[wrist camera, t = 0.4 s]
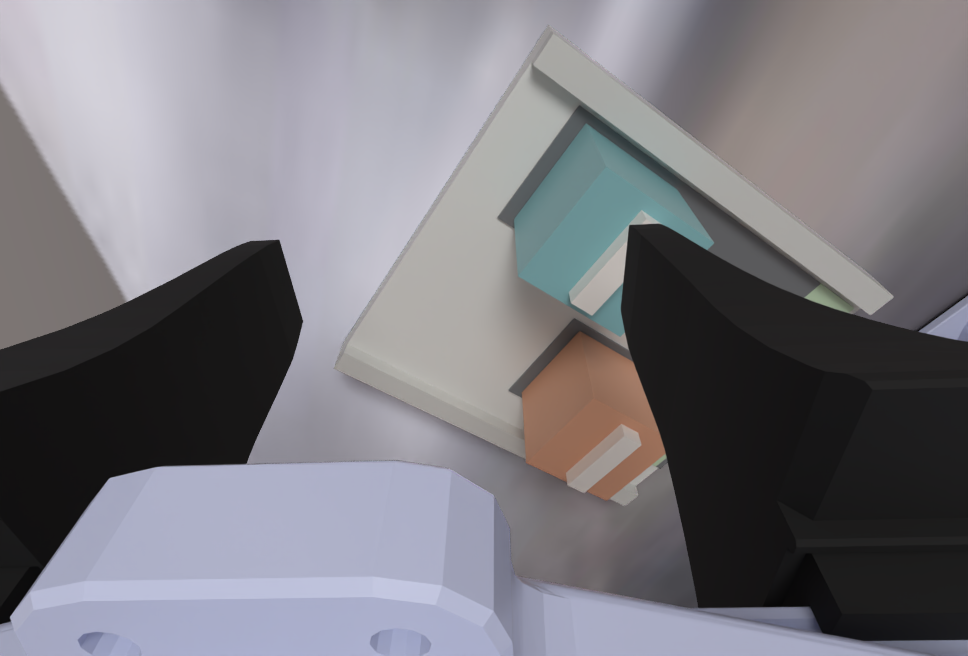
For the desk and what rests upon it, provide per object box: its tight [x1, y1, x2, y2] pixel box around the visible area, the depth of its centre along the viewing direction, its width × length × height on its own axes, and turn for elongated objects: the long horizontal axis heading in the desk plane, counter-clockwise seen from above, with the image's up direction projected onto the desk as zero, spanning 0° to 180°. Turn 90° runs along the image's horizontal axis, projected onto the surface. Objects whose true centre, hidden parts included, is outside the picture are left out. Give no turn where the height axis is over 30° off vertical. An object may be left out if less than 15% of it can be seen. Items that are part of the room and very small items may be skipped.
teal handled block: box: [514, 123, 714, 337], centre depth 18 cm, size 4×4×5 cm
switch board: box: [334, 25, 894, 506], centre depth 23 cm, size 16×15×2 cm
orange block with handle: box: [522, 331, 666, 501], centre depth 23 cm, size 4×4×5 cm
